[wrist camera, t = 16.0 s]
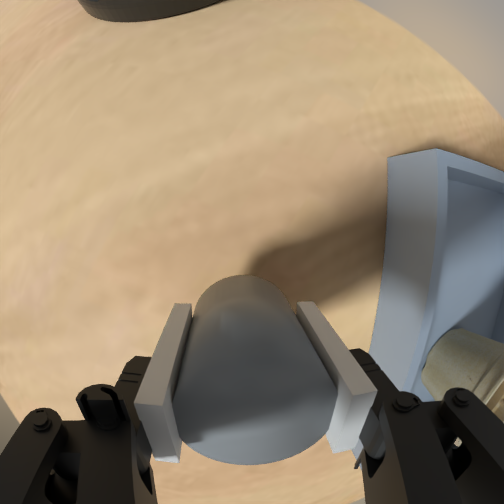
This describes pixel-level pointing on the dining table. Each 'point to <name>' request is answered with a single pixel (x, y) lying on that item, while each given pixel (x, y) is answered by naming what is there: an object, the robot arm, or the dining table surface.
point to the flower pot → (467, 368)
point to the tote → (437, 261)
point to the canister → (250, 377)
